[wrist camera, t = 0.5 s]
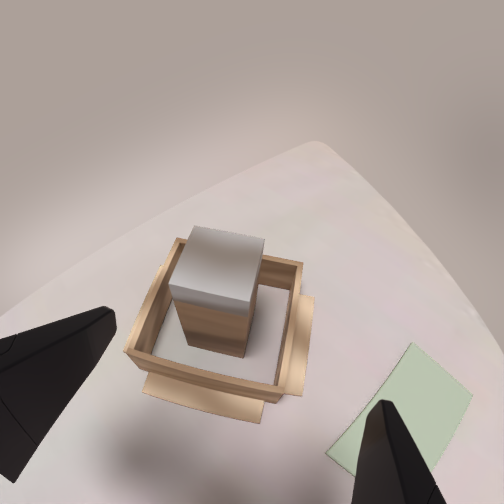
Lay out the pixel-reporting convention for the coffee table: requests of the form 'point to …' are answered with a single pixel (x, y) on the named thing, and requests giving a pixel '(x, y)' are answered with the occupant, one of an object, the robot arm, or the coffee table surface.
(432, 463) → the green mat
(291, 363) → the wooden square frame
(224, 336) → the gray block
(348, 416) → the coffee table surface
